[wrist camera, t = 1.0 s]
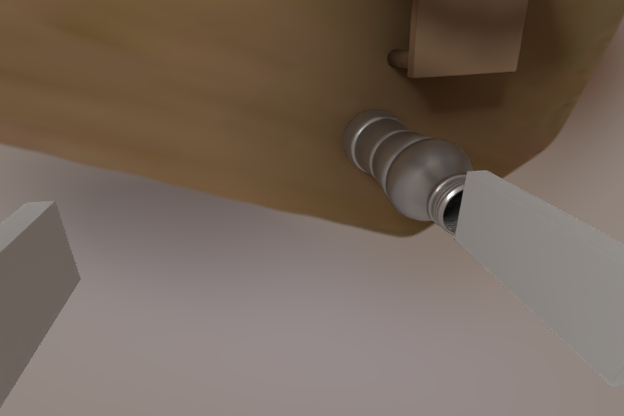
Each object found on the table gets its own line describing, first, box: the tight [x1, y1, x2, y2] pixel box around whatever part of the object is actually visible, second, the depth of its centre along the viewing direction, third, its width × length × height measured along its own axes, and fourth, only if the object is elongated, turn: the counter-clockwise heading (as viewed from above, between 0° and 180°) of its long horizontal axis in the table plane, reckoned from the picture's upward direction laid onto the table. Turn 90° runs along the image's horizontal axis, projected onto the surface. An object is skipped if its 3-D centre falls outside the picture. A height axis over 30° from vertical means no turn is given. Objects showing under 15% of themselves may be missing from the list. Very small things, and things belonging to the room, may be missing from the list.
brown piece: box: [388, 0, 529, 78], centre depth 34 cm, size 10×10×7 cm
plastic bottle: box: [343, 110, 473, 235], centre depth 32 cm, size 6×7×20 cm
